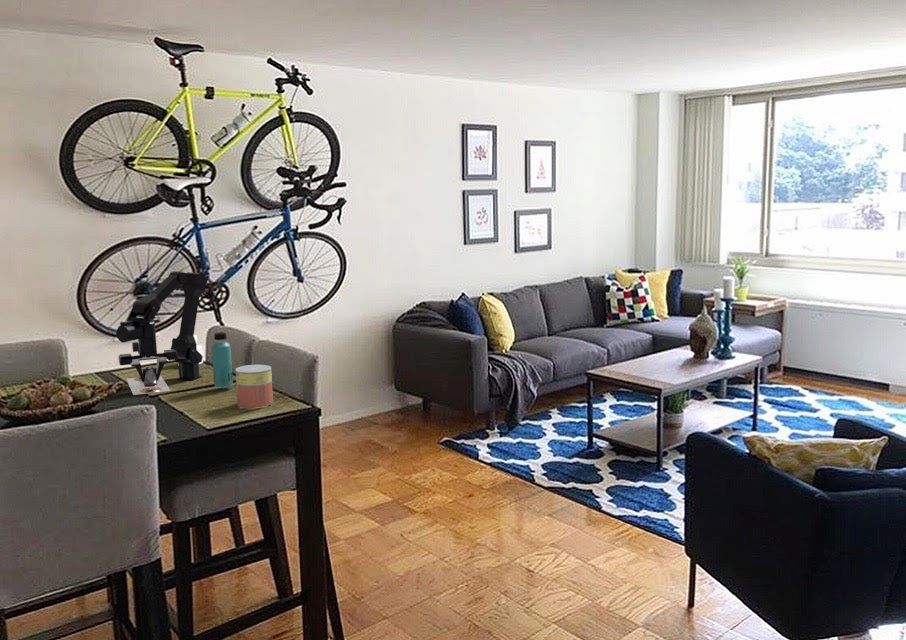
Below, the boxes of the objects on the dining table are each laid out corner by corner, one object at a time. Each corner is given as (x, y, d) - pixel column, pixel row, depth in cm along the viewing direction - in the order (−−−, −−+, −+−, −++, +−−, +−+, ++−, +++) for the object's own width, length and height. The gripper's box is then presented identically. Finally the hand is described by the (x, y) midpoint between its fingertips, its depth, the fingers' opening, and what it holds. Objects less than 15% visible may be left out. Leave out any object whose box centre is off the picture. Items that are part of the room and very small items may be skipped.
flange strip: (125, 378, 282) (125, 374, 282) (160, 374, 288) (159, 370, 288) (133, 395, 259) (133, 390, 259) (170, 390, 265) (170, 385, 265)
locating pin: (160, 384, 267) (158, 365, 266) (151, 387, 263) (150, 368, 262) (149, 383, 268) (148, 365, 267) (141, 386, 264) (139, 367, 263)
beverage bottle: (230, 391, 264) (227, 334, 260) (211, 391, 263) (207, 334, 260) (235, 386, 270) (232, 331, 267) (217, 386, 270) (213, 331, 267)
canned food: (244, 399, 253) (242, 364, 251) (277, 399, 253) (275, 364, 251) (232, 409, 242) (230, 372, 240) (267, 409, 242) (265, 372, 240)
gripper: (172, 331, 274) (175, 373, 276) (115, 335, 265) (119, 379, 268) (176, 336, 264) (179, 380, 267) (118, 341, 255) (122, 386, 258)
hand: (150, 381), depth 265 cm, fingers closed on locating pin, 4 cm apart
